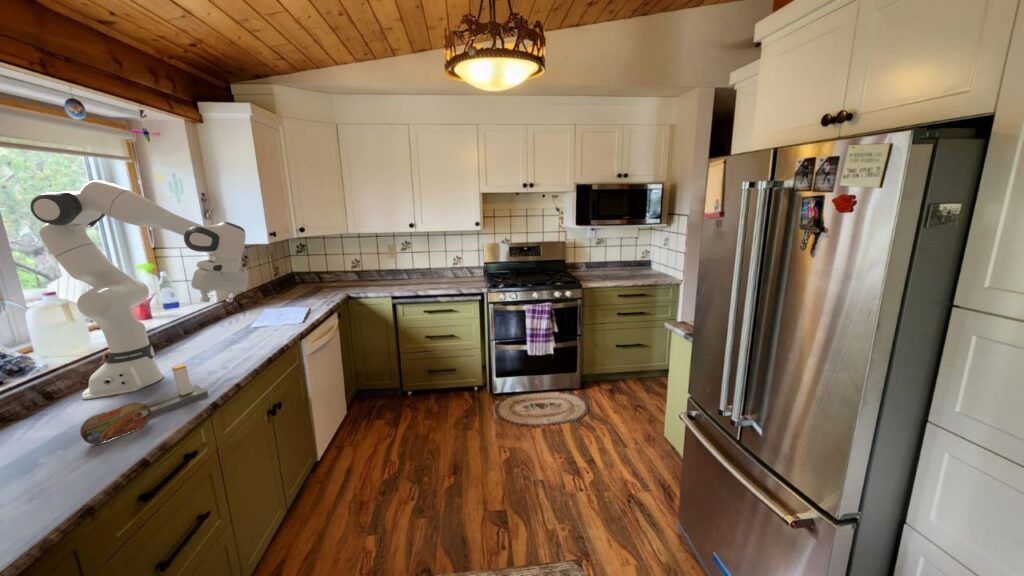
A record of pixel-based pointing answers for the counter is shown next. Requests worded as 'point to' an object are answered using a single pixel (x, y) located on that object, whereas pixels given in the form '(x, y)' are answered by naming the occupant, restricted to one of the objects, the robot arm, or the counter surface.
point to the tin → (115, 422)
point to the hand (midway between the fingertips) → (217, 301)
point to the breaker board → (175, 401)
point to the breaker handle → (182, 379)
